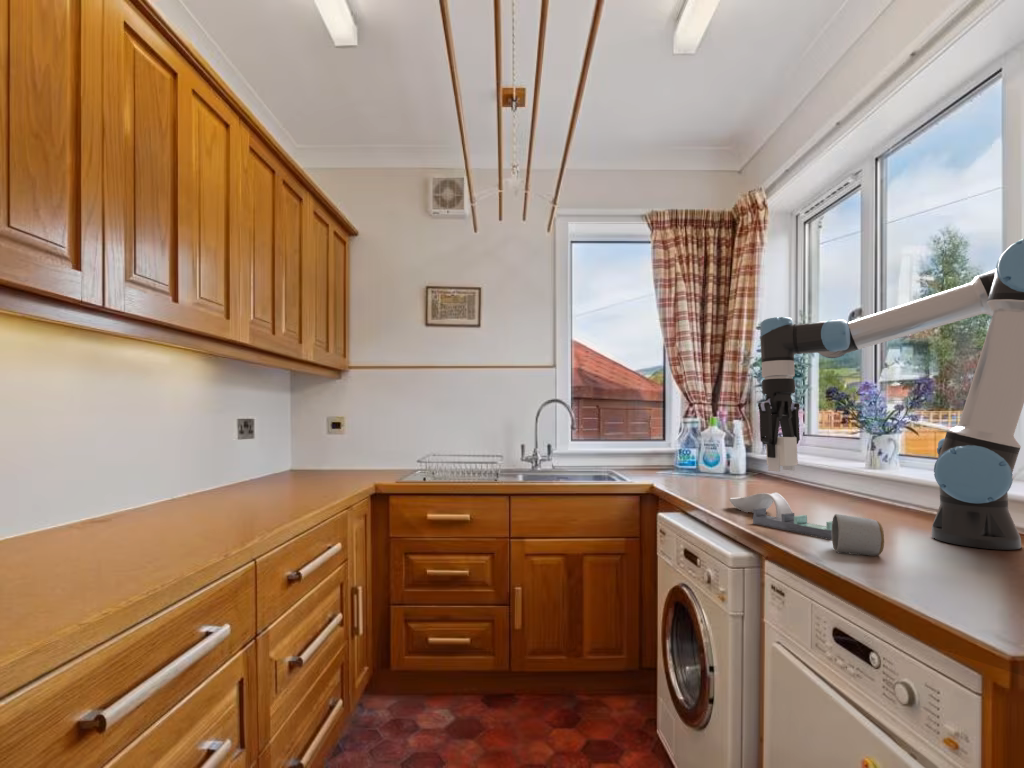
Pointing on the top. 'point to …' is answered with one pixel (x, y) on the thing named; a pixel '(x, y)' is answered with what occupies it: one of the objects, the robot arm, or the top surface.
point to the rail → (792, 523)
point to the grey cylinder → (857, 535)
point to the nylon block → (787, 451)
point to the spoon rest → (762, 503)
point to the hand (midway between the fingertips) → (781, 470)
